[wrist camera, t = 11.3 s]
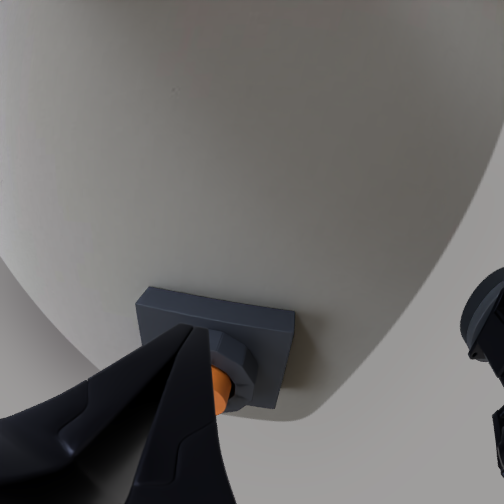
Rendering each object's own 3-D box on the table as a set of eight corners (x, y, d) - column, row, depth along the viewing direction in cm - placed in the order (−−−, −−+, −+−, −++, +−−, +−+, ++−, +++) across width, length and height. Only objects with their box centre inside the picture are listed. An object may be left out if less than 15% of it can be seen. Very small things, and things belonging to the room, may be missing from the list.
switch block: (295, 311, 18) (293, 353, 15) (276, 388, 22) (272, 428, 18) (149, 286, 19) (121, 319, 16) (159, 365, 23) (141, 399, 19)
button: (233, 367, 16) (227, 388, 15) (230, 401, 18) (225, 421, 16) (175, 354, 17) (165, 374, 15) (179, 389, 18) (171, 408, 17)
